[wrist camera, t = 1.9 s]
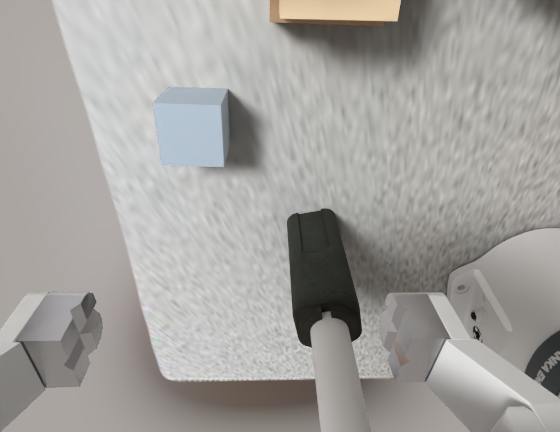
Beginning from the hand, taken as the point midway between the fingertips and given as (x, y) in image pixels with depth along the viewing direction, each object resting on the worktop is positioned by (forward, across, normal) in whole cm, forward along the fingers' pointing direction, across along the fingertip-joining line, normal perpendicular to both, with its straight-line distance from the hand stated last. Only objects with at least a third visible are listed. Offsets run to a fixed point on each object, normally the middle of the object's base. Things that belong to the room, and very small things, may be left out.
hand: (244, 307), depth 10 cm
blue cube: (+25, +5, +3) cm, 26 cm away
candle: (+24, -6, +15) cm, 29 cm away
